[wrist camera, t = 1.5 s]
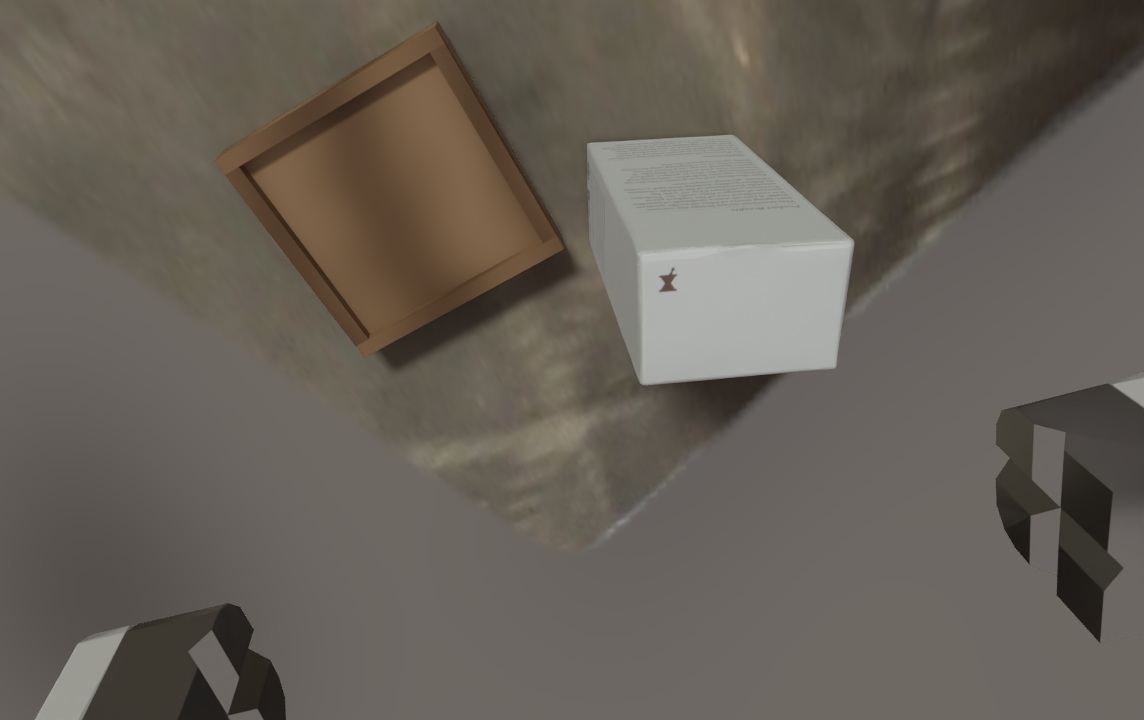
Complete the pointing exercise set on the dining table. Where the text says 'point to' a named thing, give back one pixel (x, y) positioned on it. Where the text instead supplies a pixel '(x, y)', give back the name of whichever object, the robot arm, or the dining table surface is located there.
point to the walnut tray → (394, 193)
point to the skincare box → (714, 260)
